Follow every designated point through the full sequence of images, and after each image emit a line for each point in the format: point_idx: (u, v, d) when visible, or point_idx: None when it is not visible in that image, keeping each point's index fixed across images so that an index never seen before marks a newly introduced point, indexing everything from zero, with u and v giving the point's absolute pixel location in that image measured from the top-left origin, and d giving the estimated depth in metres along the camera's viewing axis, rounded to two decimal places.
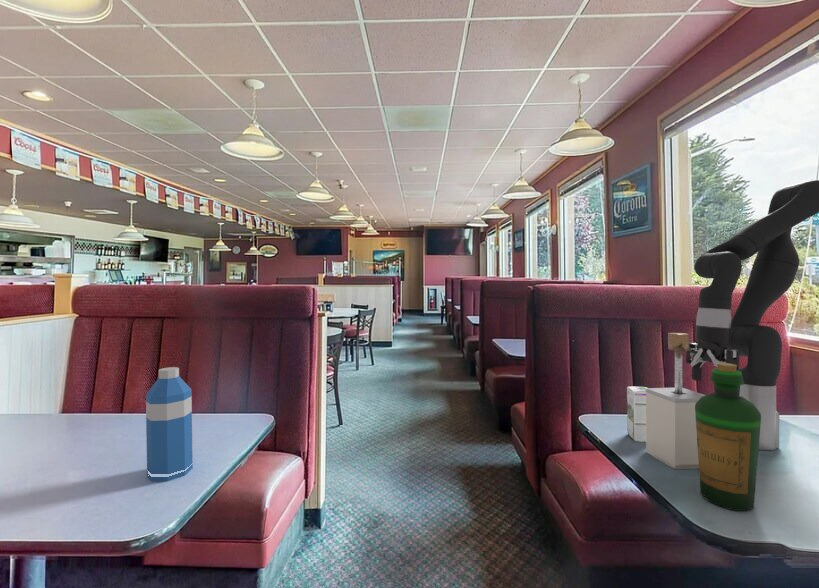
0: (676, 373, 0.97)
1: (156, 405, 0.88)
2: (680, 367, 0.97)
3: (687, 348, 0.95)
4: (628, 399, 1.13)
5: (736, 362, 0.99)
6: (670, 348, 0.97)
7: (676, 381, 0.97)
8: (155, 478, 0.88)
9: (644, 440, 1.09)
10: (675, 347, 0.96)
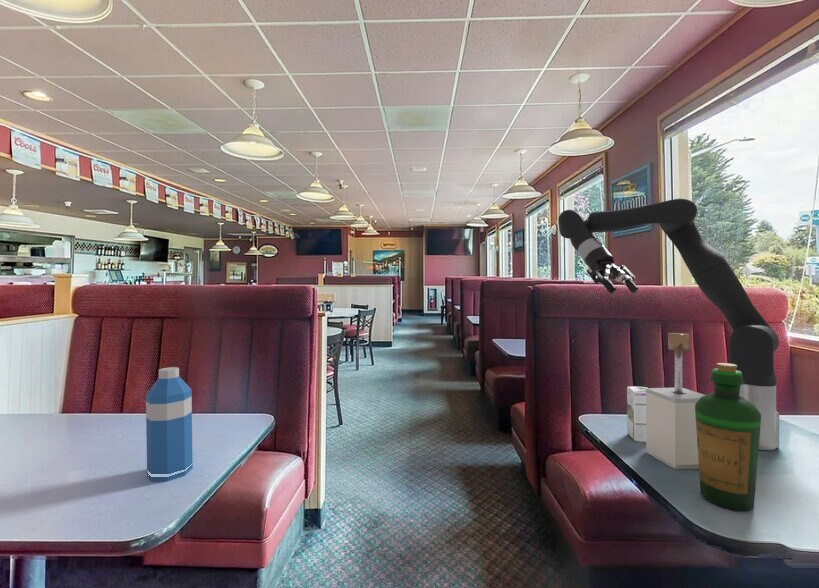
0: (676, 373, 0.97)
1: (156, 405, 0.88)
2: (680, 367, 0.97)
3: (687, 348, 0.95)
4: (628, 399, 1.13)
5: None
6: (670, 348, 0.97)
7: (676, 381, 0.97)
8: (155, 478, 0.88)
9: (644, 440, 1.09)
10: (675, 347, 0.96)
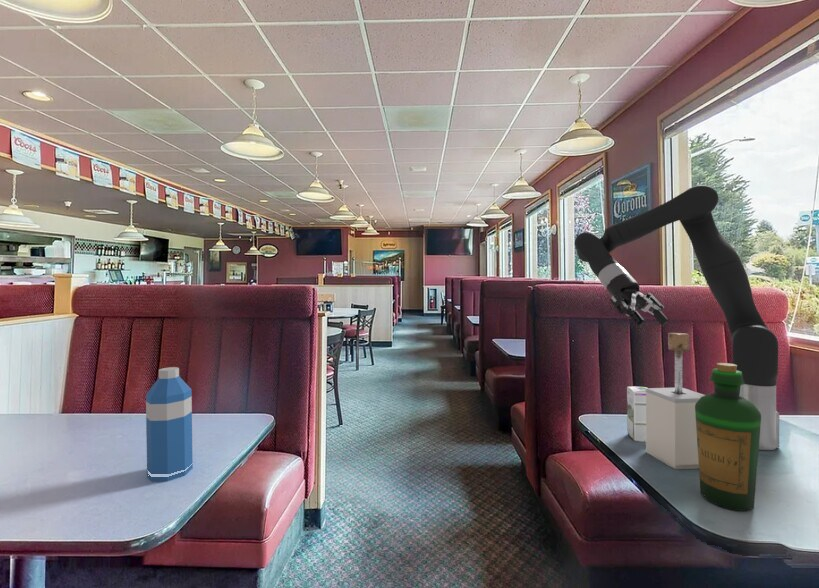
0: (676, 373, 0.97)
1: (156, 405, 0.88)
2: (680, 367, 0.97)
3: (687, 348, 0.95)
4: (628, 399, 1.13)
5: None
6: (670, 348, 0.97)
7: (676, 381, 0.97)
8: (155, 478, 0.88)
9: (644, 440, 1.09)
10: (675, 347, 0.96)
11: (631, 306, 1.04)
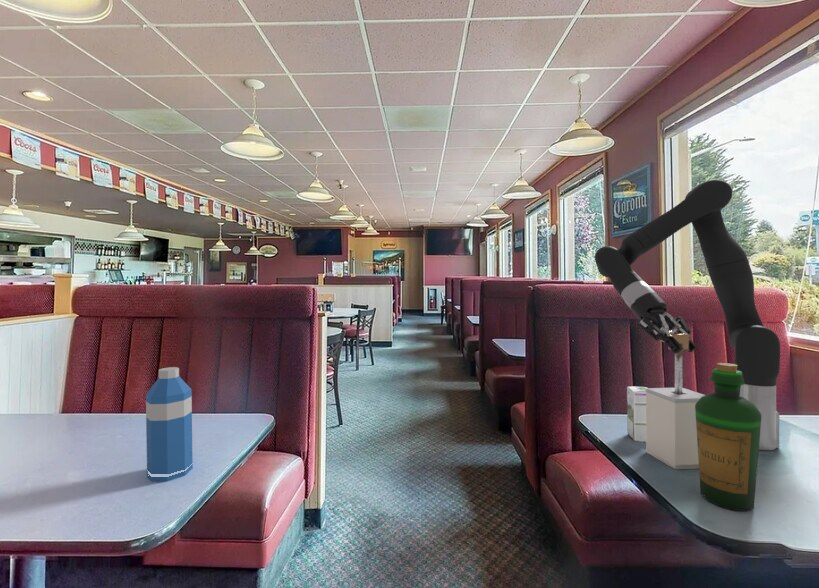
0: (676, 373, 0.97)
1: (156, 405, 0.88)
2: (680, 367, 0.97)
3: (687, 348, 0.95)
4: (628, 399, 1.13)
5: None
6: None
7: (676, 381, 0.97)
8: (155, 478, 0.88)
9: (644, 440, 1.09)
10: None
11: (666, 331, 0.97)
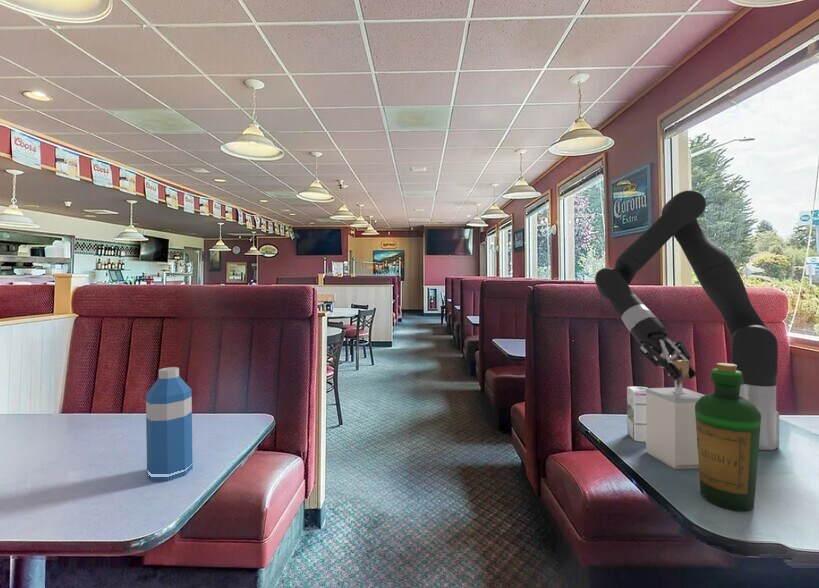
0: None
1: (156, 405, 0.88)
2: None
3: (687, 375, 0.95)
4: (628, 399, 1.13)
5: None
6: None
7: None
8: (155, 478, 0.88)
9: (644, 440, 1.09)
10: None
11: (666, 358, 0.97)
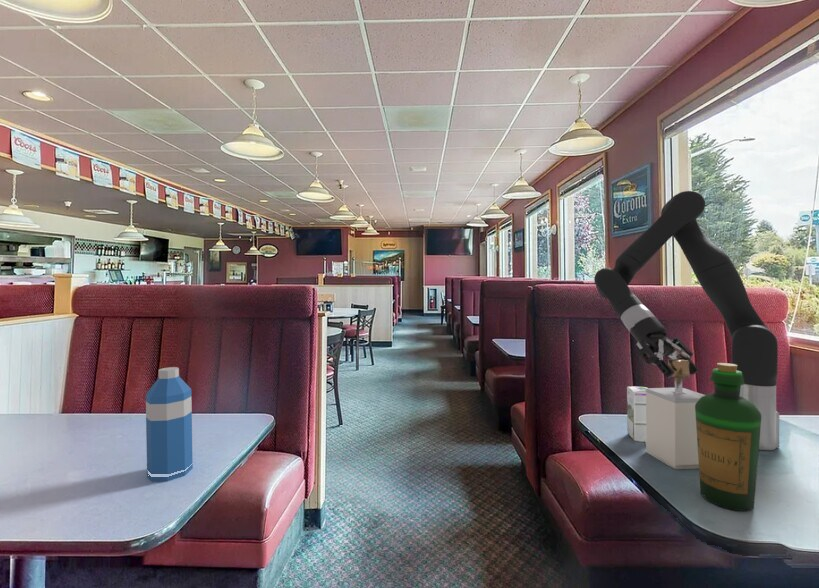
0: None
1: (156, 405, 0.88)
2: None
3: (687, 375, 0.95)
4: (628, 399, 1.13)
5: None
6: None
7: None
8: (155, 478, 0.88)
9: (644, 440, 1.09)
10: (675, 374, 0.96)
11: (659, 355, 0.97)
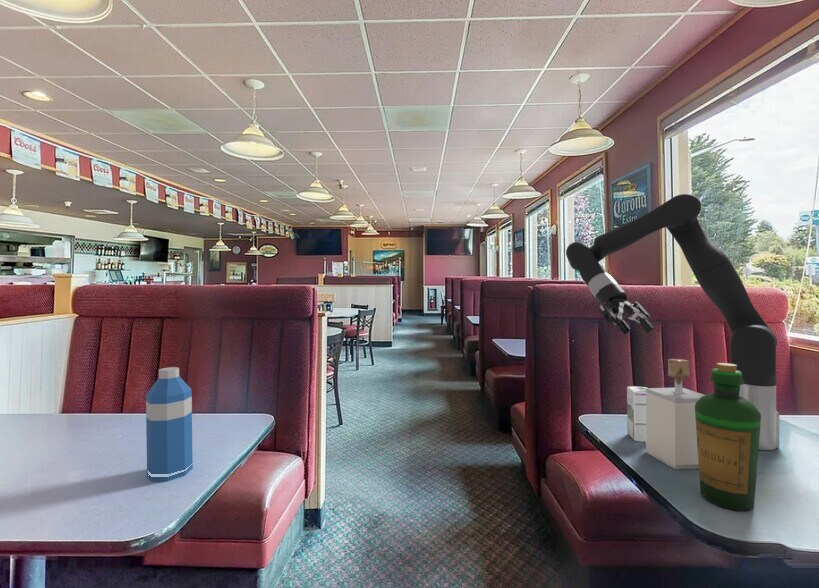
0: None
1: (156, 405, 0.88)
2: None
3: (687, 375, 0.95)
4: (628, 399, 1.13)
5: None
6: (670, 375, 0.97)
7: None
8: (155, 478, 0.88)
9: (644, 440, 1.09)
10: (675, 374, 0.96)
11: (618, 315, 1.09)
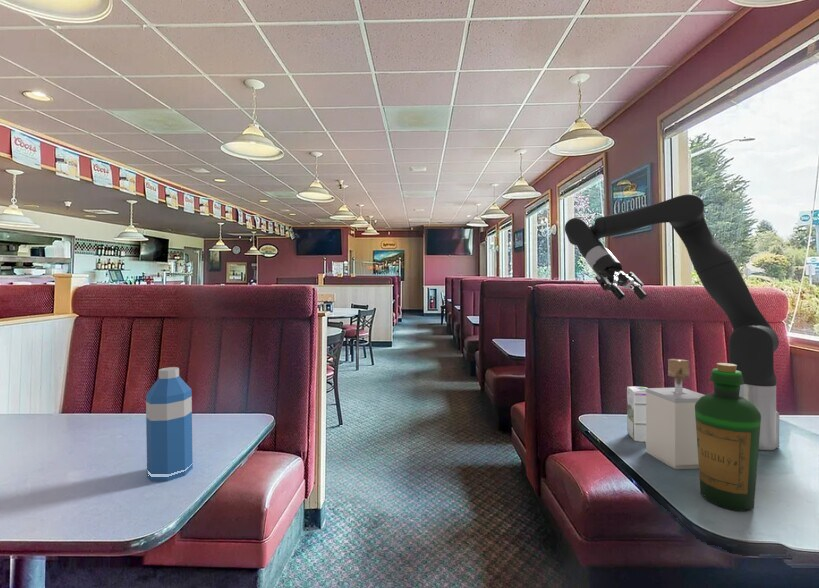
0: None
1: (156, 405, 0.88)
2: None
3: (687, 375, 0.95)
4: (628, 399, 1.13)
5: None
6: (670, 375, 0.97)
7: None
8: (155, 478, 0.88)
9: (644, 440, 1.09)
10: (675, 374, 0.96)
11: (613, 283, 1.16)
